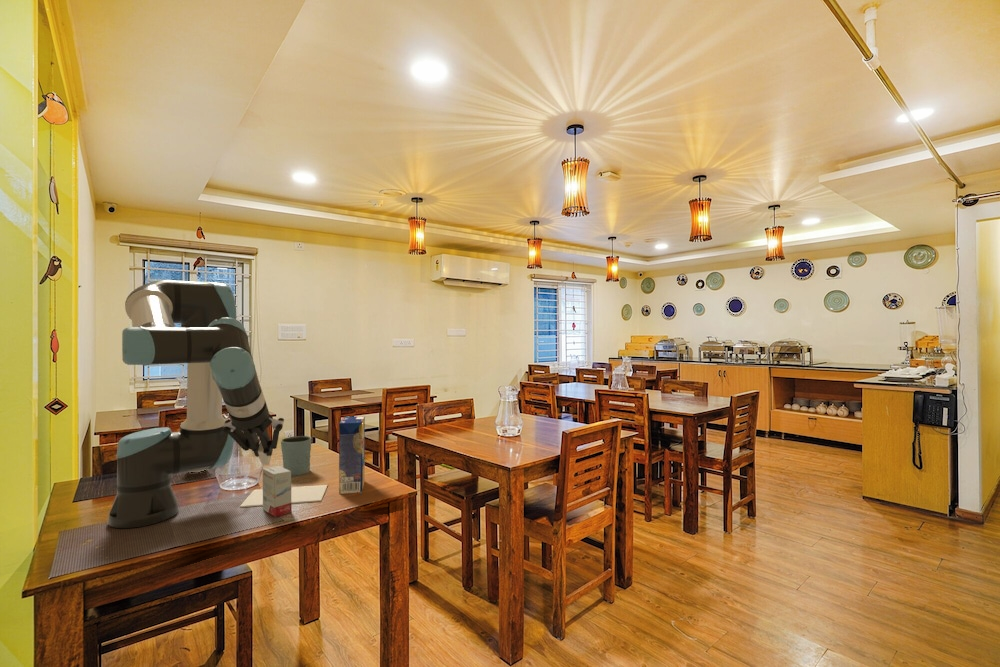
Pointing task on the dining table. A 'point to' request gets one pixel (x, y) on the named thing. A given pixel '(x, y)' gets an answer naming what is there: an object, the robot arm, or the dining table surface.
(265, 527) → the dining table surface
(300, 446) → the green tapered cup
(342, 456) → the beverage box
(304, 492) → the mat
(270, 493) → the ink box
